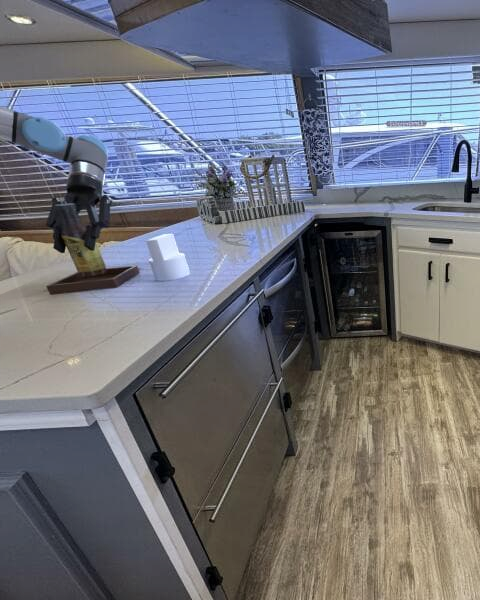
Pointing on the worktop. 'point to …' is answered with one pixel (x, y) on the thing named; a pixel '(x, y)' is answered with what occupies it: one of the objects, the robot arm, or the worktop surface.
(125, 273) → the tray
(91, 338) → the worktop surface
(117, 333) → the worktop surface
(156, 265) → the cylinder with rectangular tab
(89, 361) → the worktop surface
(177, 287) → the worktop surface
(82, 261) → the sauce bottle
